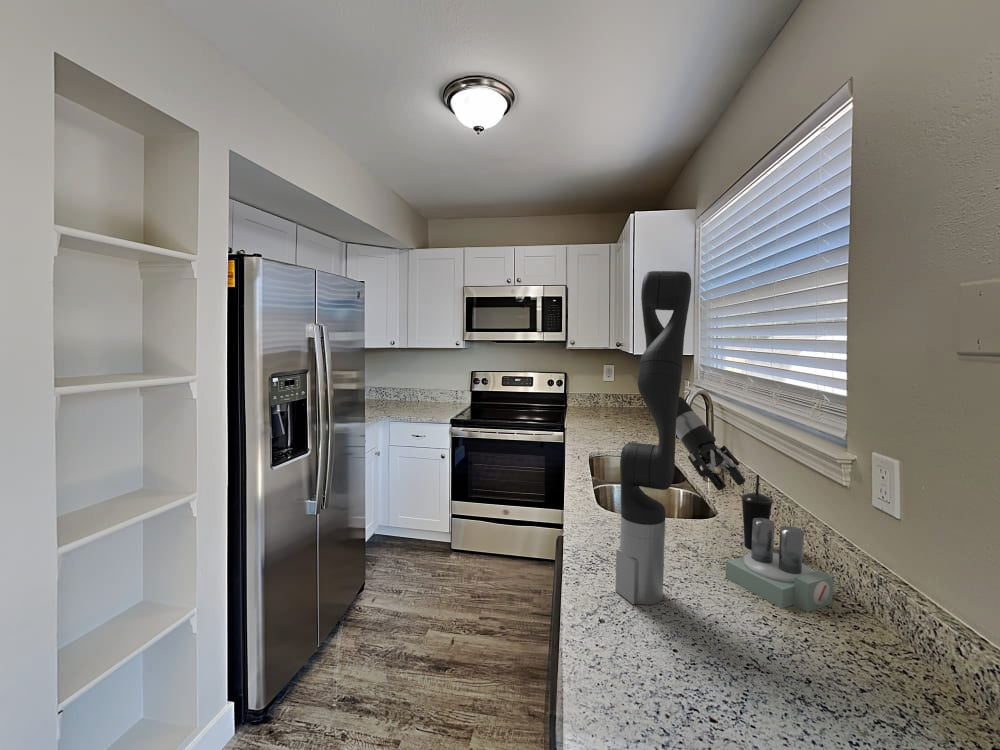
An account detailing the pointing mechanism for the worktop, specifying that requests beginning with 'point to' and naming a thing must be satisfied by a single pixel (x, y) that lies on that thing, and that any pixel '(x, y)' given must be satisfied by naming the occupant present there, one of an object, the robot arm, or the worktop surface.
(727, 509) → the worktop surface
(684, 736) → the worktop surface
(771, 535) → the steel weight
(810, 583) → the kitchen scale
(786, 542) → the steel weight
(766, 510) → the drinking cup
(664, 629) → the worktop surface
